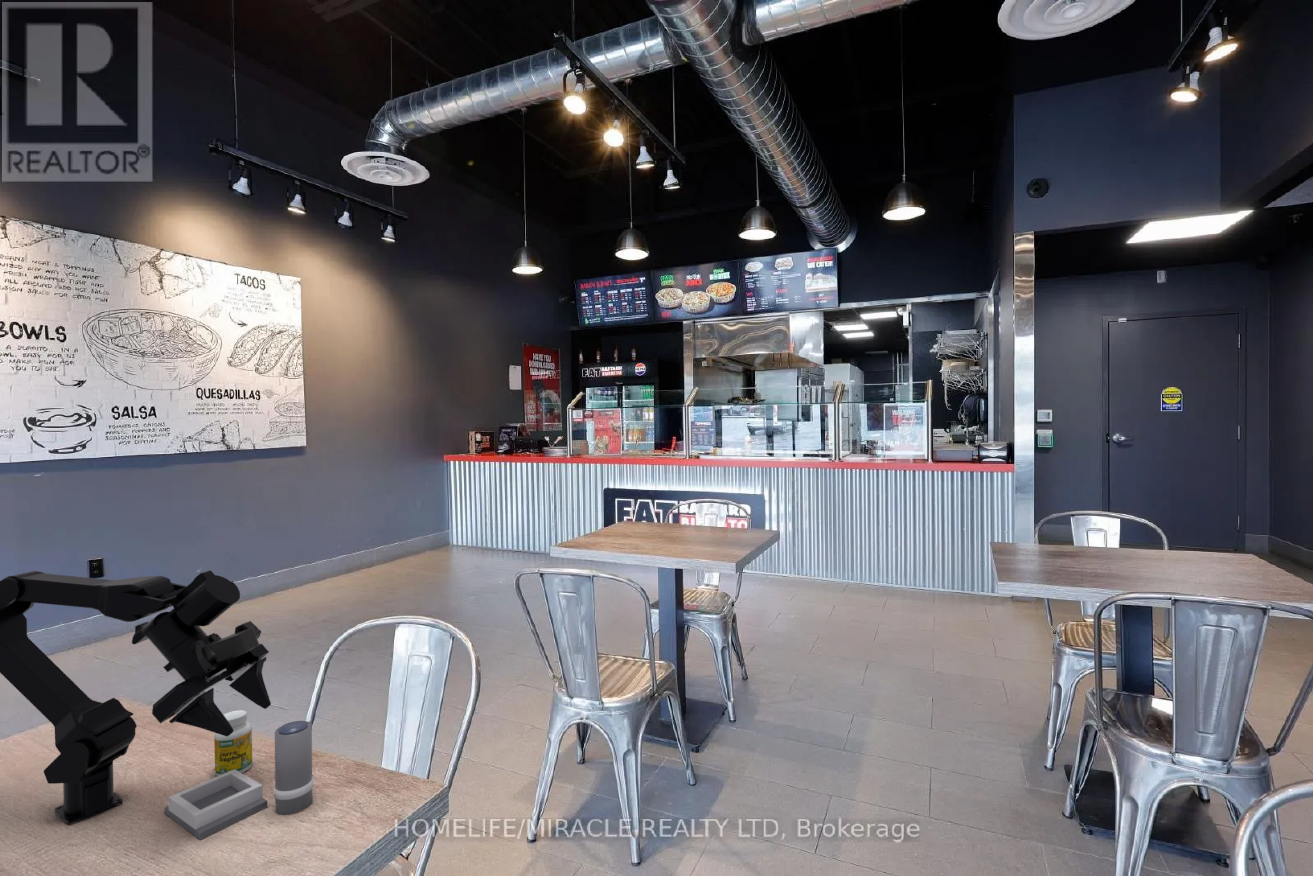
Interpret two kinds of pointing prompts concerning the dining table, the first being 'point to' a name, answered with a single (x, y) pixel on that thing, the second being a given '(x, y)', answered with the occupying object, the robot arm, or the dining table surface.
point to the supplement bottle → (234, 745)
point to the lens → (293, 767)
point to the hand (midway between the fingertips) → (250, 719)
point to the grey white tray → (216, 803)
